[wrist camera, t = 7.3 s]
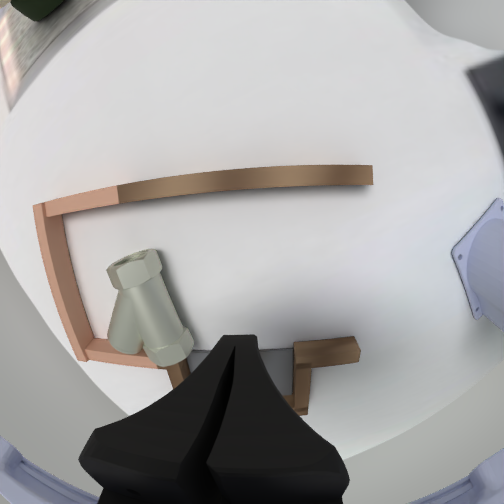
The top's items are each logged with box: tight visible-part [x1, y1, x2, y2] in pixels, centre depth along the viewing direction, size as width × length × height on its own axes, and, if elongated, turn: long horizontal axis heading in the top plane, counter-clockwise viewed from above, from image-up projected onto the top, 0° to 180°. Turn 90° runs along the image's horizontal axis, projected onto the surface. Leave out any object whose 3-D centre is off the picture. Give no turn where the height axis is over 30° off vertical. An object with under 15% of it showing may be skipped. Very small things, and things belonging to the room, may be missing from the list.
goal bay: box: [33, 186, 158, 369], centre depth 19 cm, size 9×14×2 cm, turn 4°
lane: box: [117, 165, 373, 416], centre depth 19 cm, size 16×20×2 cm
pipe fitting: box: [106, 249, 194, 367], centre depth 19 cm, size 8×4×7 cm
